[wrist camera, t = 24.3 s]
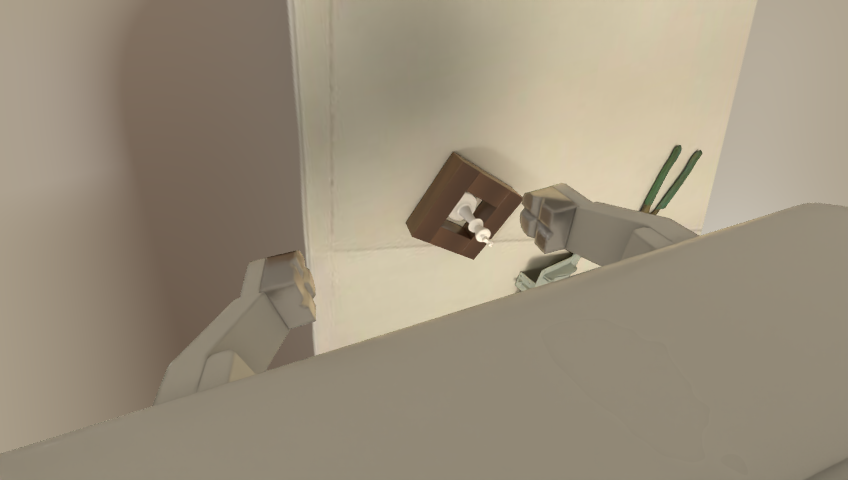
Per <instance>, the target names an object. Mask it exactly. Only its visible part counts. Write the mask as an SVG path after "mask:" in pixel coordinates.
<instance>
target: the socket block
mask: <svg viewBox="0 0 848 480" xmlns="http://www.w3.org/2000/svg"><path fill="white" fill-rule="evenodd" d="M466 191H467V192H469V193H471V194H472V195H474V196H476V197H478V198H480V199H482V200H483V201H482V202H481V204H480V205H479V206H478V208H477V209H476V210H475V212H474V213H473V215H474V217H475V219H481V220H482V221H483V227H484V228H487V229H488V230H490V232H491V235H490V237H489V240H490V239H491V238H492V237H493V236H494V234H495V233H496V232H497V231H498V230H499V228H500V227H501V226H502V225H503V223H504V222H505V221H506V220H507V219H508V217H509V216H510V215H511V214H512V213H513V211H514V210H515V209H516V208H517V206H518V205H519V204H520V203H521V202H522V198H523V197H522V196H521V195H520V194H518V193H517V192H516V191H515V190H514V189H513V188H512V187H510V186H508V185H507V184H505V183H504V182H502V181H500V180H499V179H497V178H495V177H494V176H492V175H491V174H489V173H487V172H486V171H484V170H482V169H481V168H479V167H477V166H476V165H474V164H473V163H471V162H469V161H468V160H466V159H464V158H463V157H461V156H460V155H458V154H456V153H455V152H453V153H452V154H451V156H450V157H449V159H448V160H447V162H446V163H445V165H444V166H443V168H442V169H441V171H440V172H439V174H438V175H437V177H436V178H435V180H434V181H433V183H432V184H431V186H430V187H429V189H428V190H427V192H426V193H425V195H424V196H423V198H422V199H421V201H420V202H419V204H418V205H417V207H416V208H415V210H414V211H413V213H412V214H411V216H410V217H409V219H408V220H407V222H406V224H407V227H408V229H409V231H410V233H411V236H412V237H415V238H417V239H420V240H423V241H425V242H428V243H431V244H433V245H436V246H439V247H441V248H444V249H447V250H449V251H452V252H455V253H457V254H460V255H463V256H465V257H468V258H471V259H473V260H474V259H475V257H476V256H477V255H478V254H479V253H480V251H481V250H482V249H483V248H484V247H485V245H486V244H487V243H485V242H479V241H477V239H476V236H475V233H474V232H471V231H470V230H469V229H468V226H469V223H468V222H466V223H465V225H464V226H463V227H461V226H459V225H457V224H455V223H452V222H450V221H448V220H446V219H447V217H448V216H449V215H450V213H451V212H452V210H453V209H454V208H455V206H456V205H457V203H458V202H459V201H460V199H461V198H462V197H463V195H464V194H465V192H466Z"/></svg>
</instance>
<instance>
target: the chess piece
mask: <svg viewBox="0 0 848 480" xmlns="http://www.w3.org/2000/svg"><path fill="white" fill-rule="evenodd" d="M476 206H477V201H476V198H475V196H474V195H472V194H471V193H469V192H467V191H466V192H465V194H464V195H463V197H462V198H461V199H460V201H459V202H458V203H457V205H456V206H455V208H454V209H453V210H452V212H451V213H450V215H449V216H448V217H449V218H450V219H452V220H454V221H462V220H466V221H467V222H468V223H469V226H468V229H469V230H470V231H471V232H474V233H475V236H476V239H477V241H479V242H485V243H487V245H488V246H490V247H491V246H492V245H493V243H494V242H493V241H491V240H489V237H490V235H491V232H490V230H488V229H487V228H484V227H483V221H482V220H481V219H475V217H474V215H473V213H474V211H475V209H476Z"/></svg>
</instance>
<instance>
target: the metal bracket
mask: <svg viewBox="0 0 848 480" xmlns="http://www.w3.org/2000/svg"><path fill="white" fill-rule="evenodd" d="M580 258H581V256H578V255H576V254H573V256H572V257H570V258H568V259H565V260H563V261H561V262H559V263H556V264H554V265H552V266H549V267H547V268H545V269H543V270H542V271H541V273H540V275H539V277H538V280H537V282H536V283H535V282H533V281H532V280H531V279H530V278H528V277H527V276H526V275H525V274H524V273H522V272H520V274H519V276H518V279H517V281H516V283H515V286H516V287H518V288H519V289H520V290H521V291H525V290H528V289H531V288H534V287H538V286H541V285H544V284H547V283H550V282H554V281H557V280H560V279H563V278H567V277H570V275H571V274H572V273H574V272H575V271H576V270H577V267H575V266H576V264H577V263H578V261H579V259H580ZM521 276H522V277H521ZM529 282H530V283H529Z"/></svg>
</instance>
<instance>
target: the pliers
mask: <svg viewBox="0 0 848 480" xmlns="http://www.w3.org/2000/svg"><path fill="white" fill-rule="evenodd" d="M681 149H682V148H681V145H679V146H677V147H675V149H674V151H673V153H672V155H671V156H670V158H669V160H668V161H667V163H666V164H665V166H664V167H663V169H662V171H661V172H660V174H659V176H658V178H657V180H656V182H655V184H654V185H653V187H652V189H651V191H650V193H649V195H648V197H647V198H646V200H645V205H644V207H643V209H642V211H641V212H644V213H648V214H650V213H649V210H650V206H651V205H652V203H653V201H654V199H655V197H656V195H657V193H658V191H659V189H660V187H661V185H662V183H663V181H664V179H665V177H666V175H667V174H668V172H669V170H670V169H671V167H672V165H673V164H674V162H675V161H676V160H677V158H678V156H679V154H680V152H681ZM701 155H702V151H701V150H699V151H697V152H696V153H695V154H694V155H693V156H692V158H691V159H690V161H689V163H688V165H687V166H686V168H685V170H684V171H683V173H682V175H681V176H680V177H679V179H678V180H677V181H676V182H675V184H674V185H673V186H672V188H671V189H670V190H669V191H668V193H667V194H666V196H665V197H664V198H663V200H662V201H661V202H660V204H659V205H658V206H657V208H656V209H655V210H654V211H653V212H652V213H651V214H652V215H656V214H657V213H658V212H659V210H660V209H664V208H666V206H667V204H668V203H669V202H670V200H671V199H672V198H673V196H674V195H675V193H676V192H677V191H678V189H679V188H680V186H681V185H682V184H683V182H684V181H685V179H686V178H687V176H688V175H689V174H690V172H691V170H692V169H693V167H694V165H695V164H696V162H697V160H698V159H699V158H700V156H701Z"/></svg>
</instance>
